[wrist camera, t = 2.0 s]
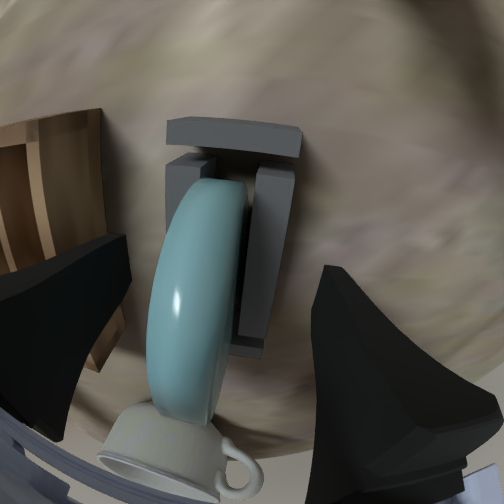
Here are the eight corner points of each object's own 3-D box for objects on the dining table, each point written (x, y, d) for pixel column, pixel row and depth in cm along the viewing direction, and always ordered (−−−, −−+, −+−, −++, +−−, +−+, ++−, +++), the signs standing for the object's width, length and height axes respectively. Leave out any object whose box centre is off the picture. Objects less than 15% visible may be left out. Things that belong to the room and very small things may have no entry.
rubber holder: (264, 325, 15) (260, 359, 13) (188, 312, 15) (175, 343, 13) (298, 127, 10) (302, 132, 8) (190, 116, 10) (167, 120, 8)
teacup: (145, 427, 25) (125, 484, 18) (106, 373, 20) (70, 446, 13) (269, 446, 24) (262, 513, 17) (270, 397, 19) (259, 497, 12)
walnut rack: (125, 326, 16) (99, 372, 13) (14, 288, 17) (-14, 317, 13) (100, 108, 10) (38, 119, 6) (-20, 133, 10) (-62, 150, 7)
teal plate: (239, 300, 15) (208, 449, 8) (217, 296, 15) (177, 442, 8) (254, 149, 10) (186, 329, 4) (222, 146, 10) (107, 311, 4)
